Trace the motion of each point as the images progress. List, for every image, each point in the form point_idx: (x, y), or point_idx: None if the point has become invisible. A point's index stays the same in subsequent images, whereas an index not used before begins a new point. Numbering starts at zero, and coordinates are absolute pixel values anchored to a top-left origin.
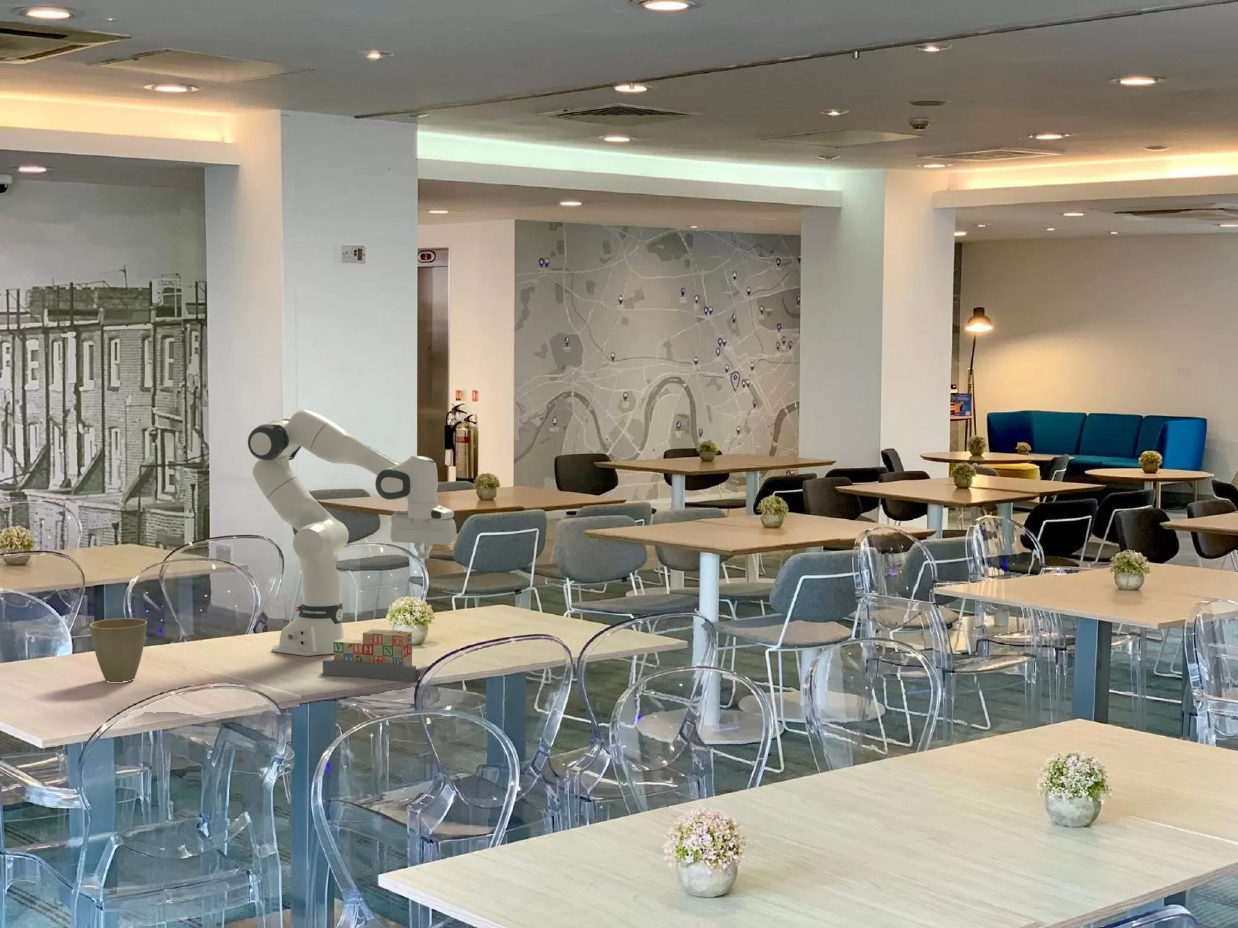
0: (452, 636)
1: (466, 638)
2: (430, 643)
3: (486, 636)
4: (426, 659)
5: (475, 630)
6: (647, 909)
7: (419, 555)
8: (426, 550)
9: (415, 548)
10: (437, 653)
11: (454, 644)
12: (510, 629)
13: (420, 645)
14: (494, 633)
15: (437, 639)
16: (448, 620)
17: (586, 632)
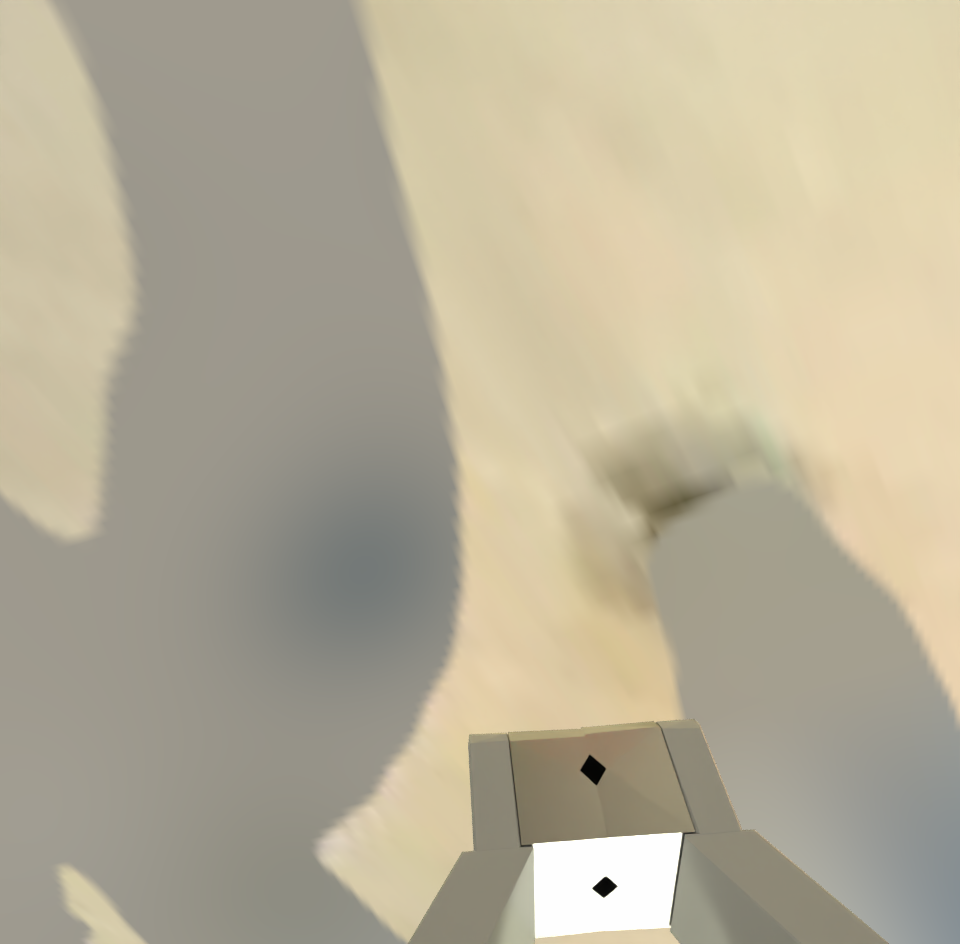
0: (593, 719)
1: (510, 709)
2: (620, 566)
3: (448, 766)
4: (418, 173)
5: None
6: None
7: (669, 770)
8: (475, 919)
9: (858, 931)
10: (453, 364)
11: (492, 589)
12: (433, 886)
13: (648, 509)
14: (450, 818)
15: (630, 649)
16: None
17: (124, 936)
